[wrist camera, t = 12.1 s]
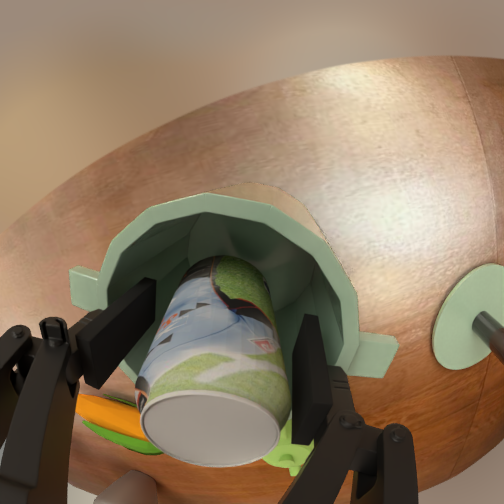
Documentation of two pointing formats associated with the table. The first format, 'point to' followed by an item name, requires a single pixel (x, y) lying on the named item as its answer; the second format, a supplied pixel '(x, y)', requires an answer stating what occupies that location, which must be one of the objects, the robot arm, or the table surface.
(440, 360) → the lid
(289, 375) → the pot
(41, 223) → the table surface
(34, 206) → the table surface
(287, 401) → the beverage can
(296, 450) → the teapot
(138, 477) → the vase
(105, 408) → the corn
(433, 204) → the table surface
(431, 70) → the table surface
